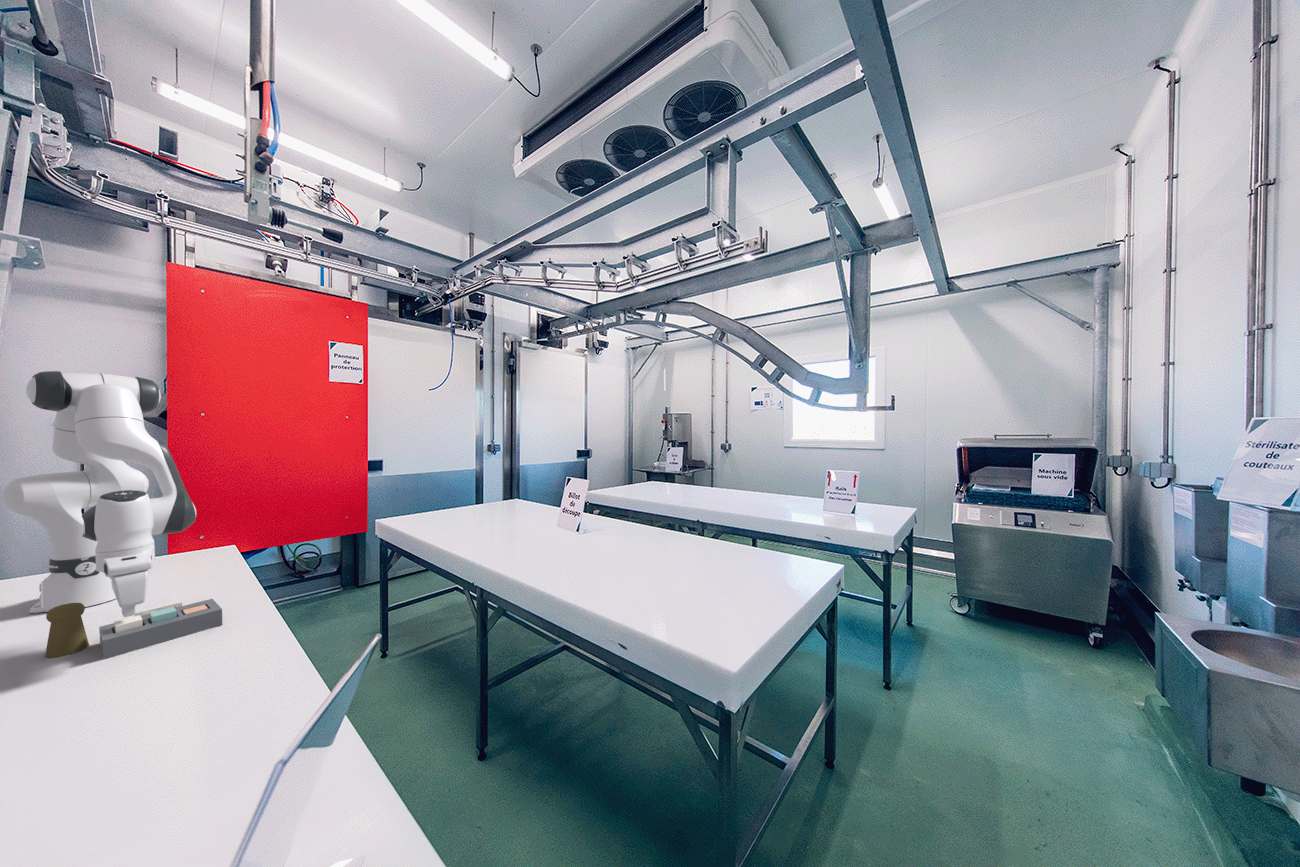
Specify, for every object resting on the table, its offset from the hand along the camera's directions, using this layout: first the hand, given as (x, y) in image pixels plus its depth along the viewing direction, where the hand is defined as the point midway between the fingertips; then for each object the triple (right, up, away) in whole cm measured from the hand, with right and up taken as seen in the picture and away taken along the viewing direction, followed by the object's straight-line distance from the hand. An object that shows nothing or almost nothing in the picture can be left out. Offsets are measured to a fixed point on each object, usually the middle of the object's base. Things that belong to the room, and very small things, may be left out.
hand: (128, 614), depth 99 cm
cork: (-11, -8, -3) cm, 13 cm away
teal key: (+3, -4, +5) cm, 7 cm away
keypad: (+3, -7, +5) cm, 9 cm away
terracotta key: (+6, -6, +9) cm, 12 cm away
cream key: (0, -4, 0) cm, 4 cm away
